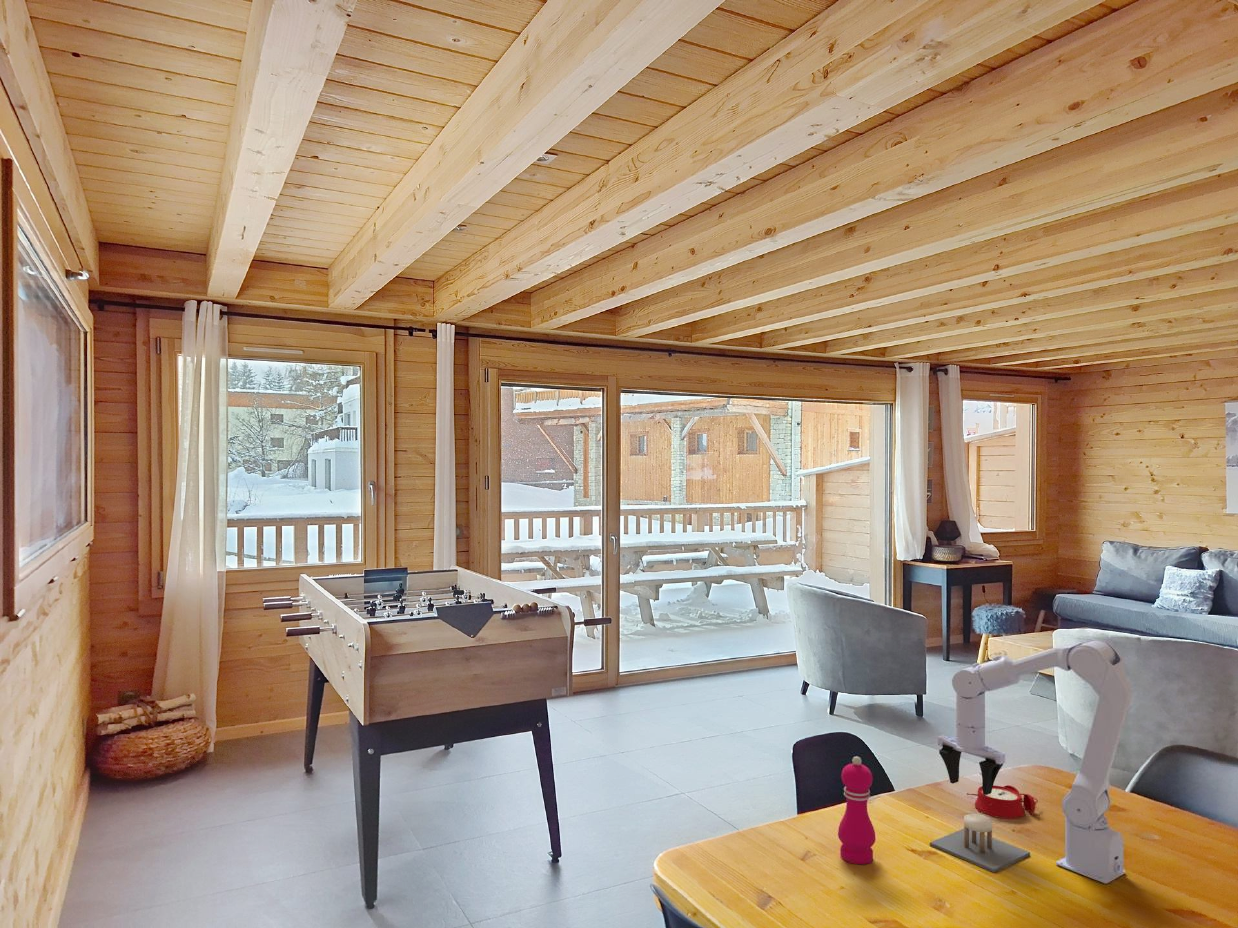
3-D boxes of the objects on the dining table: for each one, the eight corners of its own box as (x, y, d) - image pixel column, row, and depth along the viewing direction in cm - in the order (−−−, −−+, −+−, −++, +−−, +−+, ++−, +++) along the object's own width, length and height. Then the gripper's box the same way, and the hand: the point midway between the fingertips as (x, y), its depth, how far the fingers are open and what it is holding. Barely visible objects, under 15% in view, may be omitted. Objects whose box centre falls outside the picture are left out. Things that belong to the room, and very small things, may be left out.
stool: (996, 848, 166) (996, 819, 166) (984, 855, 162) (984, 826, 162) (971, 839, 170) (971, 811, 170) (959, 846, 166) (959, 817, 166)
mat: (1030, 855, 164) (1030, 852, 164) (994, 872, 157) (994, 869, 157) (966, 829, 176) (966, 827, 176) (929, 845, 168) (929, 842, 168)
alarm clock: (960, 788, 190) (1012, 768, 194) (965, 814, 190) (1017, 793, 194) (992, 805, 180) (1046, 784, 184) (997, 832, 180) (1051, 811, 184)
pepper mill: (877, 867, 158) (877, 764, 159) (839, 863, 160) (839, 761, 160) (873, 850, 165) (873, 751, 166) (836, 847, 167) (837, 749, 167)
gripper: (929, 718, 179) (929, 780, 179) (992, 736, 167) (992, 802, 167) (948, 713, 183) (948, 774, 183) (1010, 730, 171) (1010, 795, 171)
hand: (970, 787), depth 175 cm, fingers open, 7 cm apart
